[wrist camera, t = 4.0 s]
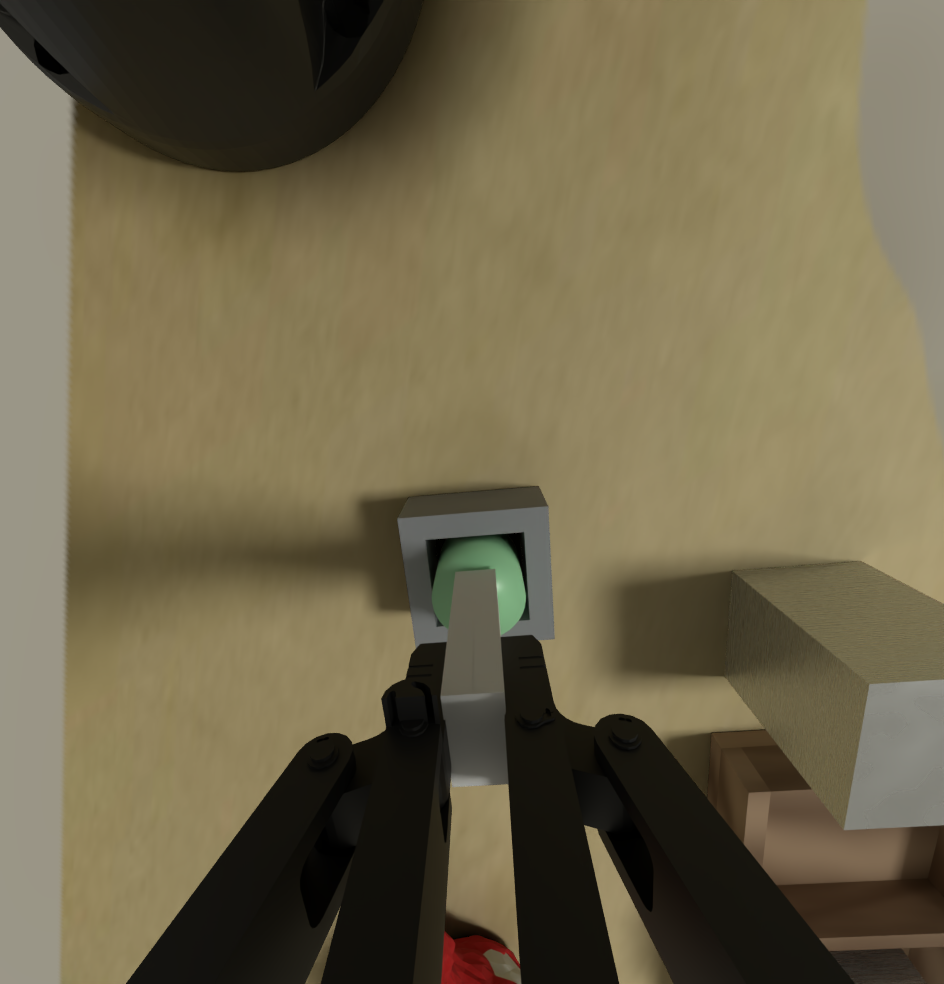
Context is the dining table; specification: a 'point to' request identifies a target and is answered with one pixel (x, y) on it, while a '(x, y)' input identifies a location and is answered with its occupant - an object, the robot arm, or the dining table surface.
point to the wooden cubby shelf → (832, 856)
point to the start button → (480, 556)
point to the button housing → (475, 518)
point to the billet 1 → (846, 685)
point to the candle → (478, 962)
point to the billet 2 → (878, 966)
